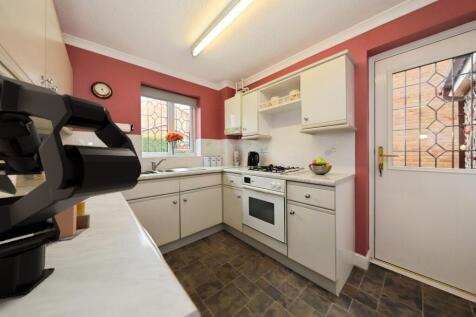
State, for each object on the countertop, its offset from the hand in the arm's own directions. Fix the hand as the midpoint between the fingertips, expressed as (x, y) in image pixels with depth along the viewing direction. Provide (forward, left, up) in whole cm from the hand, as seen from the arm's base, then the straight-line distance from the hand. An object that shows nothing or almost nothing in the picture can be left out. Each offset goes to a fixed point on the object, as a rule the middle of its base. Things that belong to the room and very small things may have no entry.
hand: (43, 191), depth 43 cm
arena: (+8, 0, -14) cm, 16 cm away
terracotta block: (+7, -1, -13) cm, 15 cm away
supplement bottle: (+21, +4, -14) cm, 25 cm away
